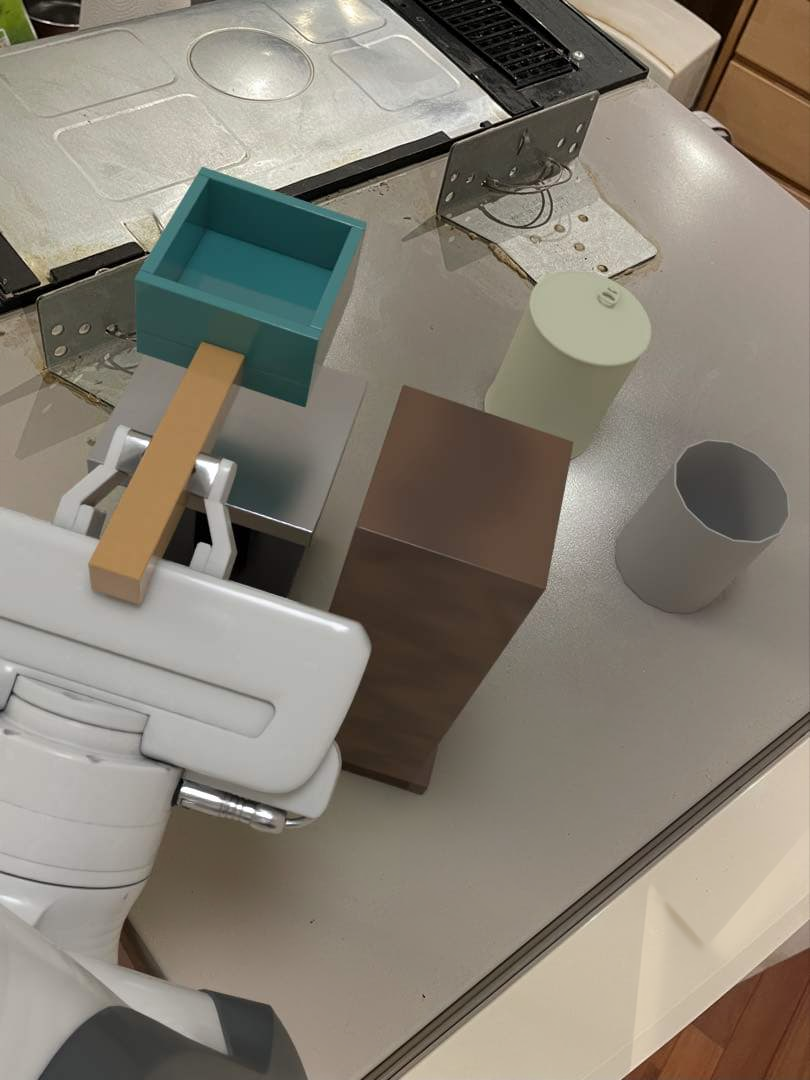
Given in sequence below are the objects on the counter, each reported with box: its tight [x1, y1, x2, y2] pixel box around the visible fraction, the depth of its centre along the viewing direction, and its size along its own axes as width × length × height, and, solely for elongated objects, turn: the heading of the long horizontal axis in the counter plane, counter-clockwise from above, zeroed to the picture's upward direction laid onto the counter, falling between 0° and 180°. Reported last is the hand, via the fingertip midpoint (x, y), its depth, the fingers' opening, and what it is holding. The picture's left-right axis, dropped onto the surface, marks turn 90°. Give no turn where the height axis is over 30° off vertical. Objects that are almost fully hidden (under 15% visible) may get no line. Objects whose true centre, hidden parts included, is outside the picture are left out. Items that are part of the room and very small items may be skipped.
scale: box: [86, 354, 369, 599], centre depth 60 cm, size 12×11×16 cm
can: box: [483, 269, 652, 460], centre depth 75 cm, size 9×9×12 cm
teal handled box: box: [88, 166, 368, 604], centre depth 42 cm, size 8×20×4 cm, turn 166°
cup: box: [615, 438, 791, 614], centre depth 70 cm, size 8×8×10 cm
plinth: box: [327, 384, 573, 795], centre depth 52 cm, size 10×8×26 cm
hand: (179, 444), depth 40 cm, fingers closed on teal handled box, 2 cm apart
